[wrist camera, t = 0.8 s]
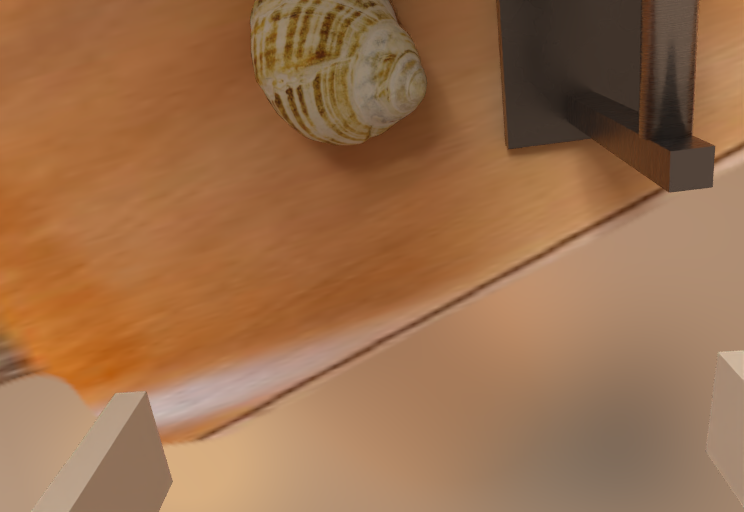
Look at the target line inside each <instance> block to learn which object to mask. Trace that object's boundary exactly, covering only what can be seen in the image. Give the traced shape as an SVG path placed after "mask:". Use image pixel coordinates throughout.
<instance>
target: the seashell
mask: <svg viewBox="0 0 744 512" xmlns="http://www.w3.org/2000/svg"><path fill="white" fill-rule="evenodd" d="M250 25H251V57H252V63H253V68H254V73H255V78H256V81H257V83H258V84H259V85H260V87H261V88H262V90H263V91H264V93H265V95H266V97H267V99H268V101H269V102H270V103H271V105H272V106H273V108H274V109H275V111H276V112H277V114H278V115H279V116H280V117H282V118H283V119H284V120H285V121H286V122H287V123H288V124H289V125H290V126H291V127H292V128H294V129H295V130H296V131H298V132H299V133H300V134H302V135H303V136H305V137H307V138H309V139H311V140H315V141H319V142H323V143H329V144H333V145H355V144H361V143H364V142H365V141H367V140H368V139H369V138H371V137H374V136H378V135H380V134H382V133H384V132H385V131H386V130H388V129H389V128H390V127H392V126H393V125H394V124H395V123H397V122H398V121H399V120H401V119H403V118H404V117H406V116H407V115H409V114H410V113H411V112H413V111H414V110H415V109H416V108H417V106H418V105H419V104H420V102H421V101H422V100H423V98H424V96H425V93H426V86H427V79H426V75H425V72H424V69H423V67H422V66H421V61H420V58H419V55H418V52H417V49H416V47H415V44H414V42H413V40H412V38H411V37H410V36H409V35H408V34H407V32H406V31H405V30H403V29H402V28H401V27H400V26H399V24H398V22H397V19H396V16H395V13H394V10H393V8H392V6H391V4H390V2H389V0H255V2H254V5H253V8H252V12H251V16H250Z"/></svg>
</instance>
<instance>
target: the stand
mask: <svg viewBox="0 0 744 512" xmlns="http://www.w3.org/2000/svg"><path fill="white" fill-rule="evenodd" d="M496 3H497V19H498V35H499V50H500V66H501V82H502V98H503V114H504V129H505V145H506V147H507V148H508V149H514V148H522V147H529V146H537V145H545V144H552V143H560V142H568V141H575V140H583V139H591V138H592V139H593V140H595V141H596V142H597V143H599V144H600V145H602V146H603V147H605V148H606V149H607V150H609V151H610V152H612V153H613V154H615V155H616V156H618V157H619V158H620V159H622V160H623V161H625V162H626V163H628V164H629V165H630V166H632V167H633V168H635V169H636V170H638V171H639V172H640V173H642V174H643V175H645V176H646V177H648V178H649V179H650V180H652V181H653V182H655V183H656V184H658V185H659V186H661V187H662V188H663V189H665V190H666V191H668V192H677V191H685V190H694V189H702V188H709V187H713V171H714V155H715V146H714V145H712V144H710V143H708V142H705V141H703V140H701V139H699V138H696V137H694V136H692V133H693V112H694V92H695V71H696V51H697V30H698V10H699V0H496Z"/></svg>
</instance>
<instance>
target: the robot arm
mask: <svg viewBox="0 0 744 512" xmlns="http://www.w3.org/2000/svg"><path fill="white" fill-rule="evenodd" d="M706 453H707V454H708V456H709V457H710V459H711V460H712V462H713V463H714V465H715V466H716V468H717V469H718V471H719V472H720V474H721V475H722V477H723V478H724V480H725V481H726V482H727V484H728V485H729V487H730V488H731V490H732V491H733V493H734V494H735V496H736V497H737V499H738V500H739V502H740V503H741V505H742V506H743V508H744V350H741V351H727V352H718V355H717V363H716V371H715V379H714V388H713V395H712V403H711V412H710V419H709V427H708V435H707V444H706ZM172 482H173V481H172V478H171V474H170V471H169V467H168V464H167V460H166V457H165V454H164V450H163V447H162V443H161V440H160V436H159V433H158V430H157V426H156V423H155V419H154V416H153V413H152V409H151V406H150V402H149V399H148V395H147V392H146V391H141V392H126V393H115V394H114V396H113V397H112V399H111V400H110V401H109V403H108V404H107V406H106V407H105V408H104V410H103V411H102V413H101V414H100V415H99V417H98V418H97V420H96V421H95V422H94V424H93V425H92V427H91V428H90V429H89V431H88V432H87V434H86V435H85V436H84V438H83V439H82V441H81V442H80V443H79V445H78V446H77V448H76V449H75V450H74V452H73V453H72V455H71V456H70V457H69V459H68V460H67V462H66V463H65V464H64V466H63V467H62V469H61V470H60V471H59V473H58V474H57V476H56V477H55V478H54V480H53V481H52V483H51V484H50V485H49V487H48V488H47V490H46V491H45V492H44V494H43V495H42V497H41V498H40V499H39V501H38V502H37V504H36V505H35V506H34V508H33V509H32V511H31V512H159V510H160V508H161V505H162V503H163V501H164V499H165V497H166V495H167V493H168V490H169V488H170V486H171V484H172Z"/></svg>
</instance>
